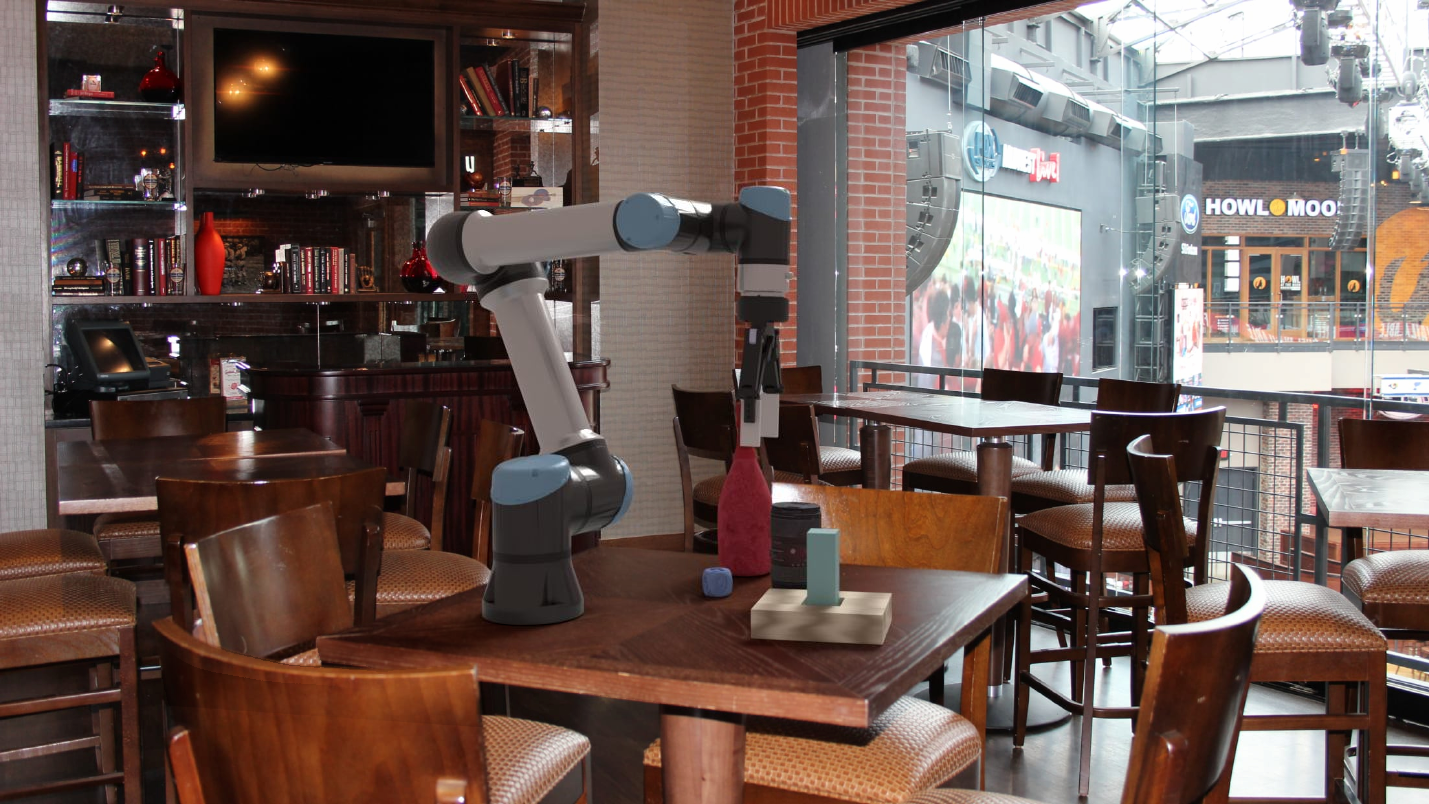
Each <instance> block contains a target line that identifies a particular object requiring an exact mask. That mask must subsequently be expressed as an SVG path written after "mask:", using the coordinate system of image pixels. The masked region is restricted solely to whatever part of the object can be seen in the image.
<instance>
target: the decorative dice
mask: <svg viewBox="0 0 1429 804" xmlns="http://www.w3.org/2000/svg"><path fill="white" fill-rule="evenodd" d="M702 590H703V593H704V595H705V596H707V597H713V598H718V597H719V598H720V597H727V596H729V595H730V594H731V593H732V591H733V576H732V575H731V572H730V570H729V569H727V568H719V567H710V568H706V569H705V570H704V571H703V573H702Z"/></svg>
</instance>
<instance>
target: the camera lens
mask: <svg viewBox="0 0 1429 804" xmlns="http://www.w3.org/2000/svg"><path fill="white" fill-rule="evenodd" d="M772 503H773V504H772V509H771V513H770V537H771V548H770V554H769V555H770V557H771V571H770V581H771V589H795V590H807V532H808V531H809V530H810V529H811V528H815V529H823V528H822V519H823V518H822V511H821V505H820V504H818V503H814V502H807V501H804V502H802V501H780V502H772Z"/></svg>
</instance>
